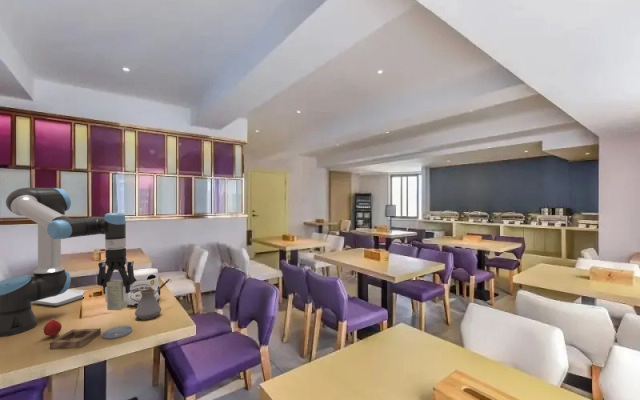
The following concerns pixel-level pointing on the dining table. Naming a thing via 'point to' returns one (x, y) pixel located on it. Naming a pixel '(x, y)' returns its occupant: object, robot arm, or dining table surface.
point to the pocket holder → (78, 343)
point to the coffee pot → (148, 304)
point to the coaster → (117, 332)
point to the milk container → (143, 285)
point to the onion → (52, 328)
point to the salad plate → (62, 298)
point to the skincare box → (115, 295)
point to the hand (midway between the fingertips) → (117, 300)
